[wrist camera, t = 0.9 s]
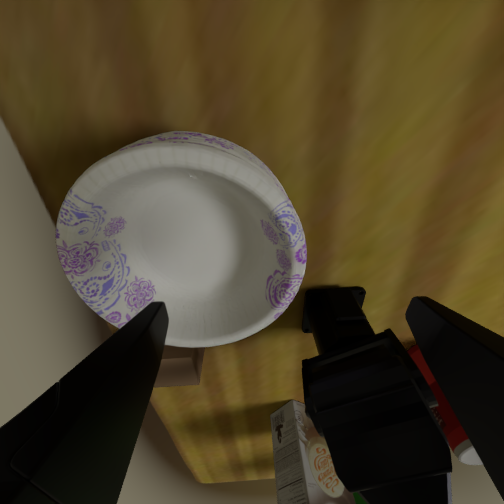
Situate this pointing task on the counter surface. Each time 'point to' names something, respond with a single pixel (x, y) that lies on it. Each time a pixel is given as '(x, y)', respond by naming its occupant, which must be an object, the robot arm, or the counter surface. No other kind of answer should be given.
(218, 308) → the paper bowls
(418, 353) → the canned food
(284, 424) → the coffee box
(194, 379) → the walnut block
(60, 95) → the counter surface
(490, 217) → the counter surface
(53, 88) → the counter surface
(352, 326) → the robot arm
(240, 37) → the counter surface
